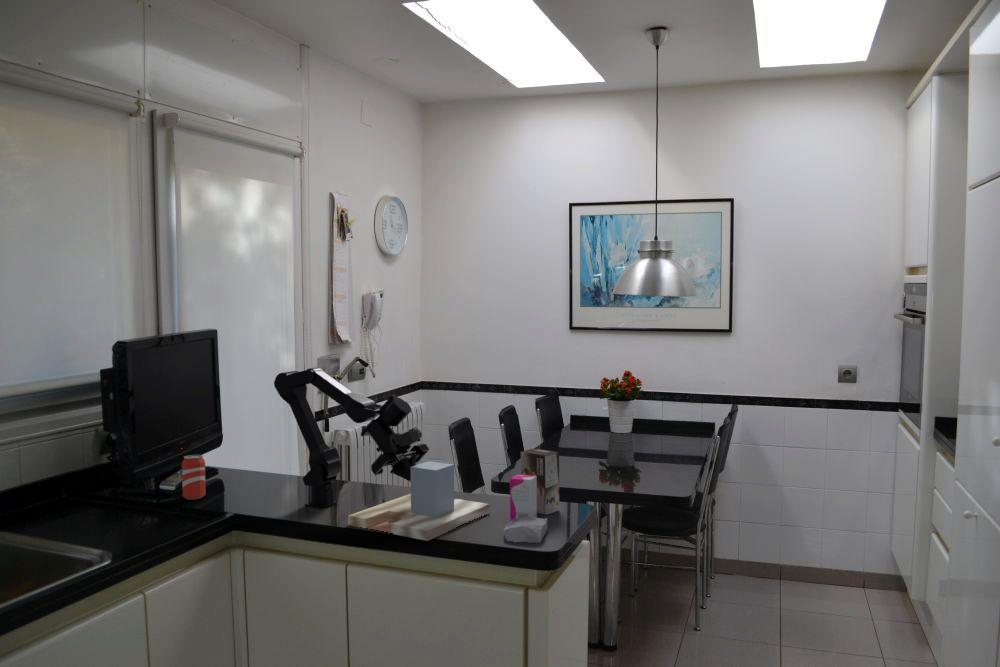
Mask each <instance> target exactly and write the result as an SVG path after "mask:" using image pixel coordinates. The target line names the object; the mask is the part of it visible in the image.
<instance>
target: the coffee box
mask: <svg viewBox="0 0 1000 667" xmlns="http://www.w3.org/2000/svg"><path fill="white" fill-rule="evenodd" d="M520 475H533V476H537V514H540V515H550V514H553V513H557V512H559V511H560V452H559V451H552V450H546V449H542V448H531V449H525V450H522V451H520Z"/></svg>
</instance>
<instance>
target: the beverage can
mask: <svg viewBox="0 0 1000 667" xmlns="http://www.w3.org/2000/svg"><path fill="white" fill-rule="evenodd" d="M181 471H182V472H181V474H182V475H181V479H182V487H181V488H182V497H183V498H185V499H186V500H192V501H193V500H200V499H202V498H204V496H206V461H205V459H204V455H202V454H189V455H188V454H187V455H185V456H183V461H182V462H181Z"/></svg>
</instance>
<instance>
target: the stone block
mask: <svg viewBox="0 0 1000 667" xmlns="http://www.w3.org/2000/svg"><path fill="white" fill-rule="evenodd" d="M548 526H549V525H548V518H540V517H537V518H535V517H522V518H517V519H513V520H511V521H510V520H509V522H507V523H506V525H505V527H504V528H503V536H504V538H505V540H506V541H507V542H509V541H513V542H512V543H516V542H528V543H527V544H540V543H542V541H543V539H544V537H545V534H546V533H547V531H548Z"/></svg>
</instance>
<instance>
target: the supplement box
mask: <svg viewBox="0 0 1000 667" xmlns="http://www.w3.org/2000/svg"><path fill="white" fill-rule="evenodd" d="M537 515H538V513H537V476H533V475H521V474H515V475H514V476H512V477H511V478H509V522H510V521H511V520H513V519H517V518H522V517H535V518H538V516H537Z"/></svg>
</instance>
